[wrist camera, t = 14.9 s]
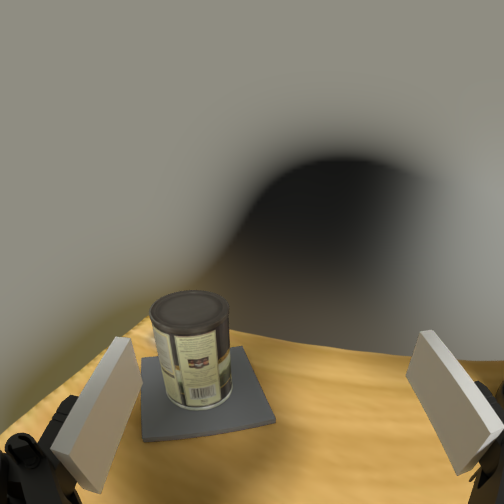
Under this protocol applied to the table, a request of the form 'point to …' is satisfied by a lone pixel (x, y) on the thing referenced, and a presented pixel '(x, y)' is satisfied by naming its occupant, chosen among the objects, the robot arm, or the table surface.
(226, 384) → the coffee can
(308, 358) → the table surface
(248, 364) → the rubber mat
